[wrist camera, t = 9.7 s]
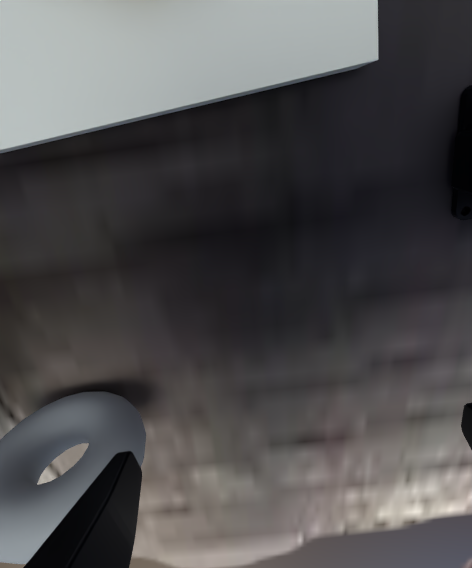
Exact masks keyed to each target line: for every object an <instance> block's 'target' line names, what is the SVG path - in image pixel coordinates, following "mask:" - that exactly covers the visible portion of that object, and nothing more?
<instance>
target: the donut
mask: <svg viewBox="0 0 472 568" xmlns="http://www.w3.org/2000/svg"><path fill="white" fill-rule="evenodd" d="M145 442H146V432H145V428H144V425H143V422H142V419H141V416H140V413H139V412H138V410H137V409H136V408H135V407H134V406H133V405H132V404H131V403H130V402H129V401H128V400H126V399H125V398H124V397H121V396H119V395H116V394H112V393H109V392H106V391H103V392H82V393H78V394H74V395H70V396H67V397H63V398H61V399H59V400H57V401H55V402H52V403H50V404H48V405H46V406H44V407H42V408H41V409H39V410H37V411H36V412H34V413H33V414H31V415H30V416H28V417H27V418H25V419H24V420H22V421H21V422H20V423H19V424H18V425H16V426H15V427H14V428H13V429H12V430H11V431H9V432H8V433H7V434H6V435H5V436H4V437H3V438H2V439H1V440H0V562H5V563H15V564H26V563H28V561H29V560H30V559H31V558H32V556H33V555H34V554H35V553H36V551H37V550H38V549H39V548H40V547H41V545H42V544H43V543H44V542H45V540H46V539H47V538H48V537H49V535H50V534H51V533H52V532H53V531H54V529H55V528H56V527H57V526H58V524H59V523H60V522H61V521H62V519H63V518H64V517H65V516H66V514H67V513H68V512H69V511H70V510H71V508H72V507H73V506H74V505H75V503H76V502H77V501H78V500H79V498H80V497H81V496H82V495H83V493H84V492H85V491H86V490H87V489H88V487H89V486H90V485H91V484H92V482H93V481H94V480H95V479H96V477H97V476H98V475H99V474H100V473H101V471H102V470H103V469H104V468H105V466H106V465H107V464H108V463H109V461H110V460H111V459H112V458H113V456H114V455H115V454H117V453H119V452H124V451H131V452H133V454H134V456H135V458H136V460H137V461H138V463H139V465H140V467H141V465H142V462H143V459H144V452H145ZM81 443H89V446H88V448H87V450H86V452H85V453H84V455H83V456H82V457H81V459H80V460H79V461H78V462H77V463H76V464H75V465H74V466H73V467H72V468H70V469H69V470H68V471H67V472H65V473H64V474H63V475H62V476H60V477H58V478H56V479H54V480H52V481H50V482H47V483H44V484H40V485H37V483H38V480H39V478H40V475H41V474H42V472H43V471H44V469H45V468H46V467H47V466H48V465H49V464H50V463H51V462H52V461H53V460H54V459H55V458H56V457H57V456H59V455H60V454H61V453H63V452H64V451H65V450H67V449H69V448H71V447H73V446H75V445H78V444H81Z"/></svg>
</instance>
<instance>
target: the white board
mask: <svg viewBox="0 0 472 568" xmlns="http://www.w3.org/2000/svg"><path fill="white" fill-rule="evenodd" d="M376 60H378V0H0V153H5V152H9V151H13V150H17V149H21V148H26V147H30V146H34V145H38V144H42V143H47V142H51V141H55V140H59V139H63V138H68V137H72V136H76V135H80V134H84V133H89V132H93V131H97V130H101V129H105V128H110V127H114V126H118V125H122V124H126V123H131V122H135V121H139V120H143V119H147V118H152V117H156V116H160V115H164V114H168V113H173V112H177V111H181V110H185V109H189V108H194V107H198V106H202V105H206V104H210V103H215V102H219V101H223V100H227V99H231V98H236V97H240V96H244V95H248V94H252V93H257V92H261V91H265V90H269V89H273V88H278V87H282V86H286V85H290V84H294V83H299V82H303V81H307V80H311V79H315V78H320V77H324V76H328V75H332V74H336V73H341V72H345V71H349V70H353V69H357V68H360V67H362V66H364V65H367V64H369V63H372V62H374V61H376Z"/></svg>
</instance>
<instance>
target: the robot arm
mask: <svg viewBox="0 0 472 568" xmlns="http://www.w3.org/2000/svg"><path fill="white" fill-rule="evenodd" d="M452 187H454V190H453V202H452V215H453V216H454V217H456V218H458V219H460V220H467V219H472V85H471V86H469V87H468V88H467V89H465V91H464V93H463V94H462V98H461V109H460V120H459V132H458V135H457V137H456V140H455V152H454V164H453V176H452ZM464 207H466V210H465V211H464V212H463V213H461V210H462V209H463V208H464ZM461 428H462V432H463V434H464V436H465V438H466V440H467V442H468V444H469V446H470V448H471V450H472V403H468V404H466V405H465V406H464V410H463V416H462V423H461ZM141 481H142V471H141V467H140V465H139V463H138V461H137V460H136V458H135V456H134V454H133V452H131V451H124V452H119V453H117V454H115V455H114V456H113V458H112V459H111V460H110V461H109V463H108V464H107V465H106V466H105V468H104V469H103V470H102V471H101V473H100V474H99V475H98V476H97V477H96V479H95V480H94V481H93V482H92V484H91V485H90V486H89V487H88V489H87V490H86V491H85V492H84V493H83V495H82V496H81V497H80V498H79V500H78V501H77V502H76V503H75V505H74V506H73V507H72V508H71V510H70V511H69V512H68V513H67V514H66V516H65V517H64V518H63V519H62V521H61V522H60V523H59V524H58V526H57V527H56V528H55V529H54V531H53V532H52V533H51V534H50V535H49V537H48V538H47V539H46V540H45V542H44V543H43V544H42V545H41V547H40V548H39V549H38V550H37V551H36V553H35V554H34V555H33V556H32V558H31V559H30V560H29V561H28V563H27V564H26V565H25V566H24V568H129V565H130V560H131V555H132V551H133V545H134V540H135V533H136V525H137V517H138V508H139V499H140V490H141Z"/></svg>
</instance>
